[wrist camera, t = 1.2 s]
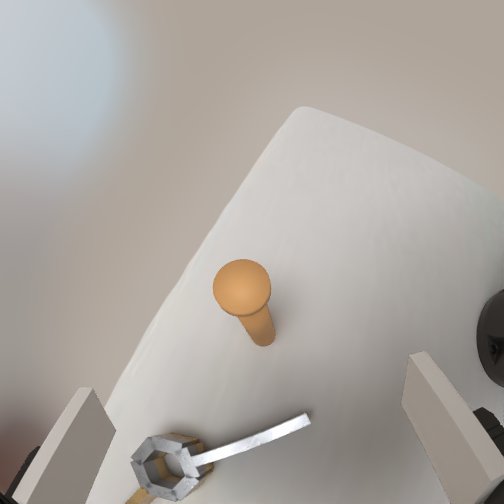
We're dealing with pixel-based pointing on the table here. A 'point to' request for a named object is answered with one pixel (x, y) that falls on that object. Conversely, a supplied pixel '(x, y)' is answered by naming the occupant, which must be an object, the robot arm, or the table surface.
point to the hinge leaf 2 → (197, 457)
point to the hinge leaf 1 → (142, 498)
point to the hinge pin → (246, 297)
